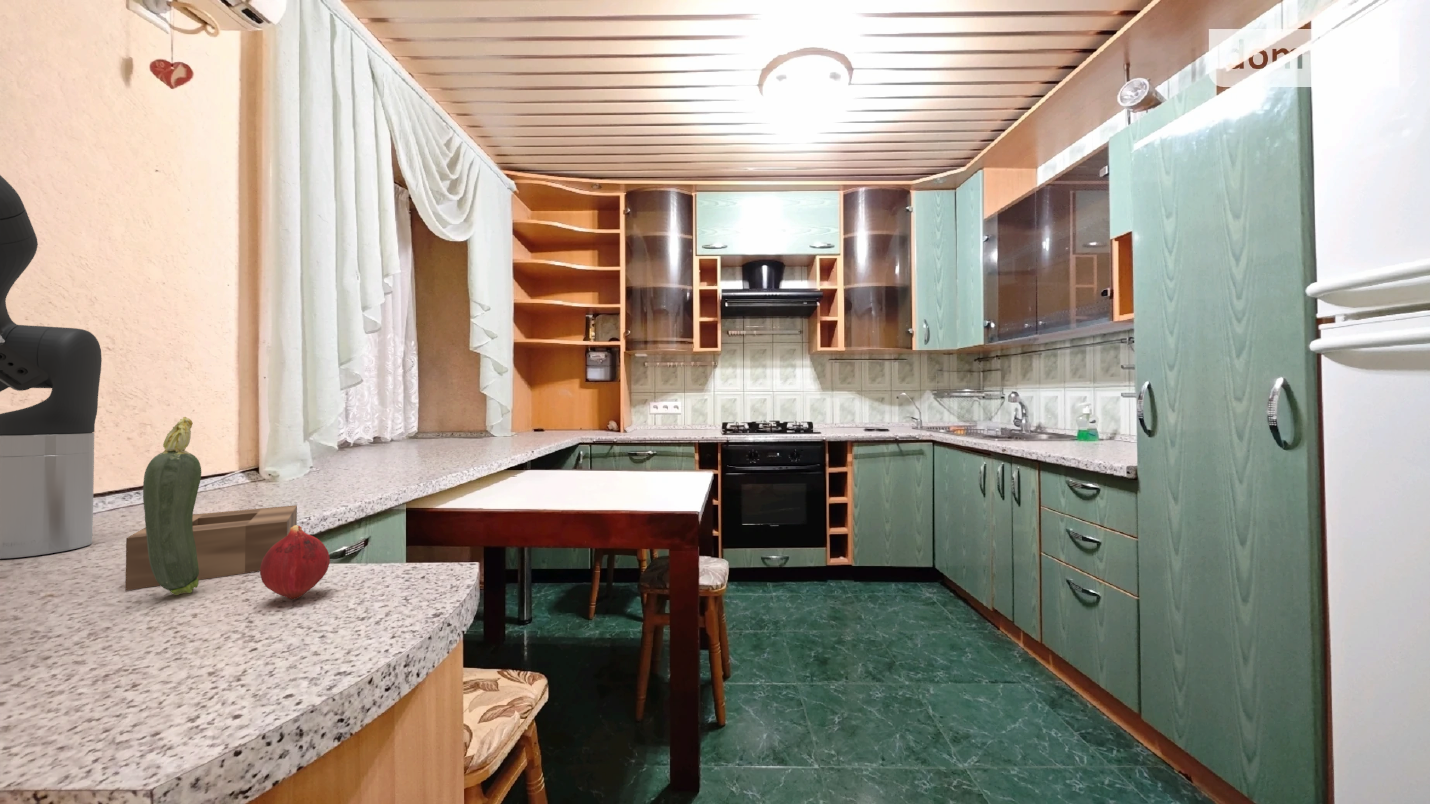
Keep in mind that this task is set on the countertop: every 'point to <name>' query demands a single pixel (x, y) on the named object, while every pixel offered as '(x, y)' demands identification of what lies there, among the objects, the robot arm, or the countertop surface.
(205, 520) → the socket block
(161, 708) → the countertop surface
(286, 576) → the onion
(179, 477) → the vegetable
